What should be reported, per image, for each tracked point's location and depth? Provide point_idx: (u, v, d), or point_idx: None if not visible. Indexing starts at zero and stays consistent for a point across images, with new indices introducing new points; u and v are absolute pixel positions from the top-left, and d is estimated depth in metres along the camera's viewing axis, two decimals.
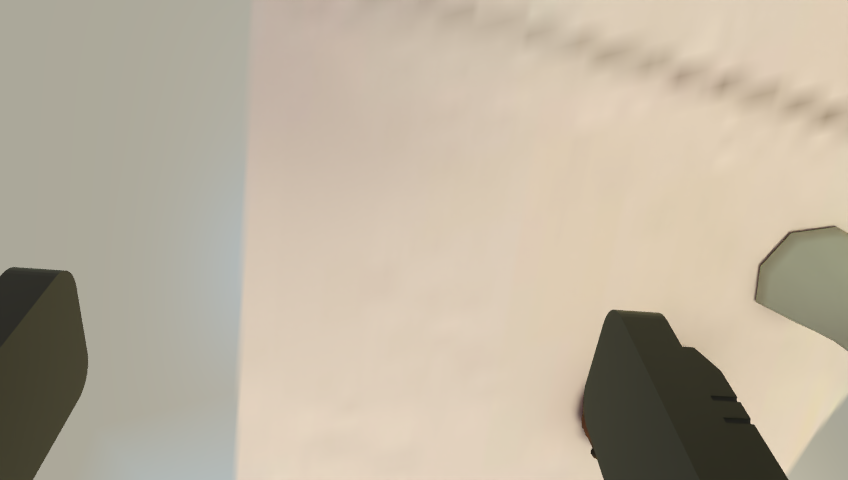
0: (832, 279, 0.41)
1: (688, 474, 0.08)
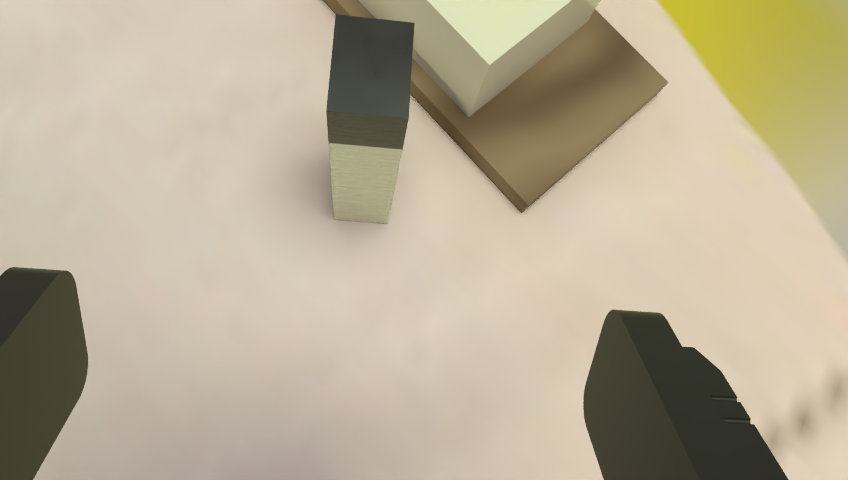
0: None
1: (688, 475, 0.08)
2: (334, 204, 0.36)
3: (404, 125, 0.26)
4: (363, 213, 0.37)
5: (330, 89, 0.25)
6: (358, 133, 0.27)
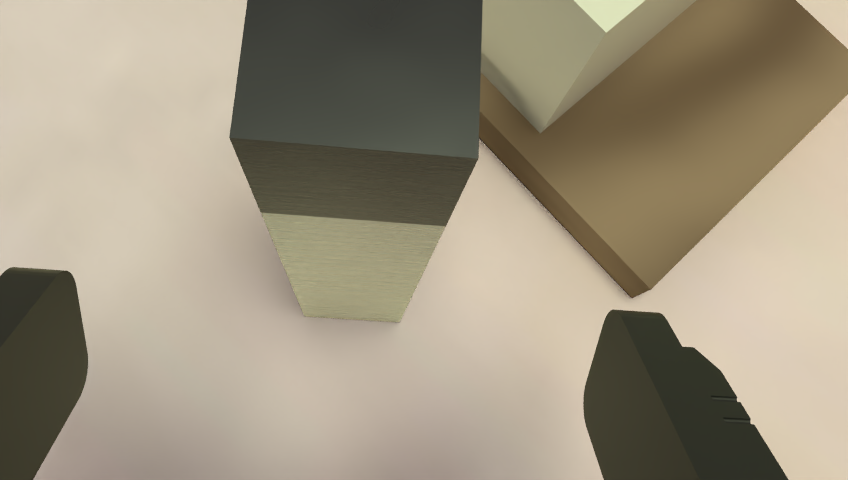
0: None
1: (686, 474, 0.08)
2: (300, 301, 0.19)
3: (462, 175, 0.09)
4: (355, 312, 0.20)
5: (243, 72, 0.08)
6: (335, 193, 0.10)
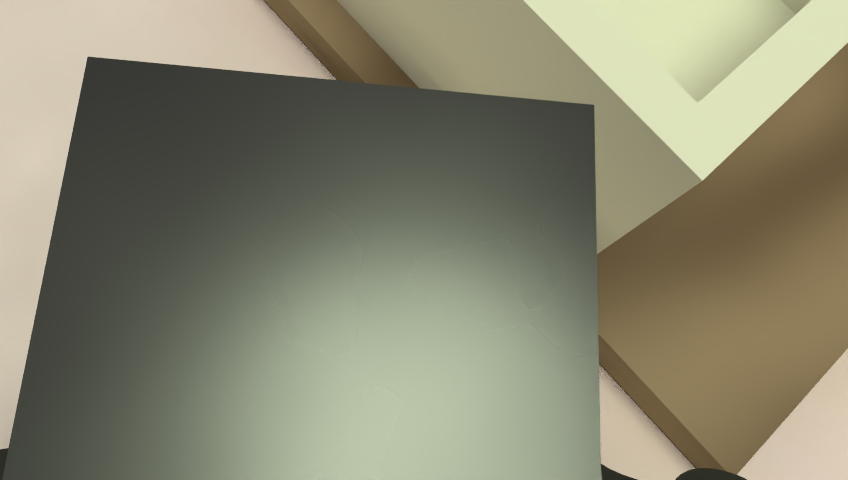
0: None
1: None
2: None
3: None
4: None
5: None
6: None
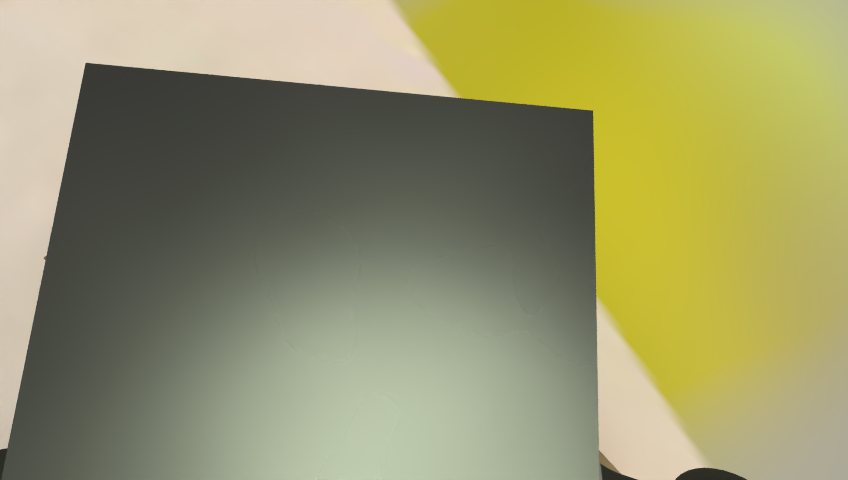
0: None
1: None
2: None
3: None
4: None
5: None
6: None
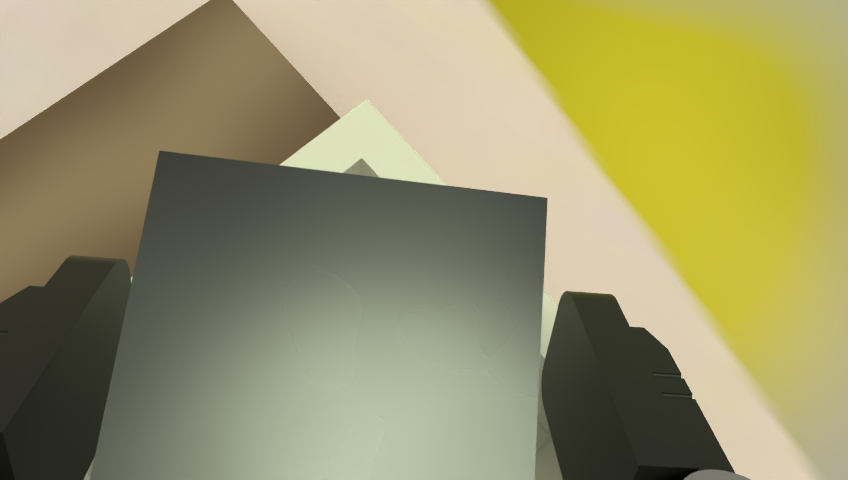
0: None
1: (621, 443, 0.08)
2: None
3: None
4: None
5: None
6: None
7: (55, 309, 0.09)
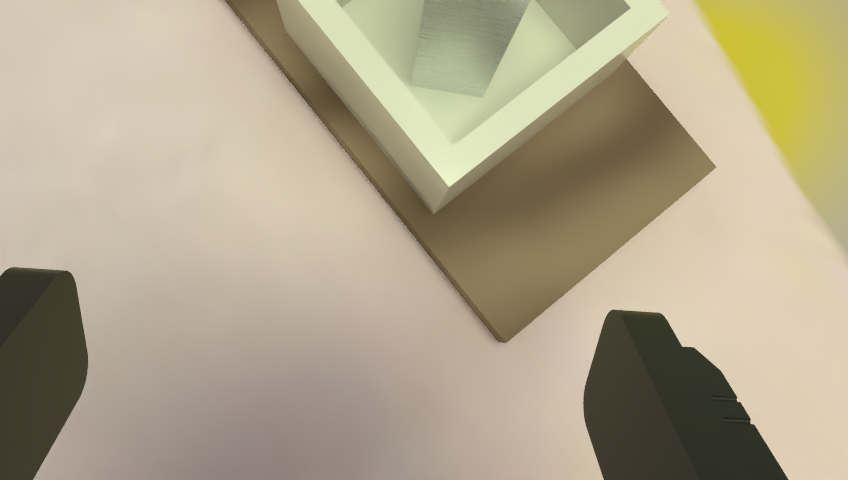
0: None
1: (687, 474, 0.08)
2: (416, 60, 0.25)
3: None
4: (453, 79, 0.27)
5: None
6: None
7: None
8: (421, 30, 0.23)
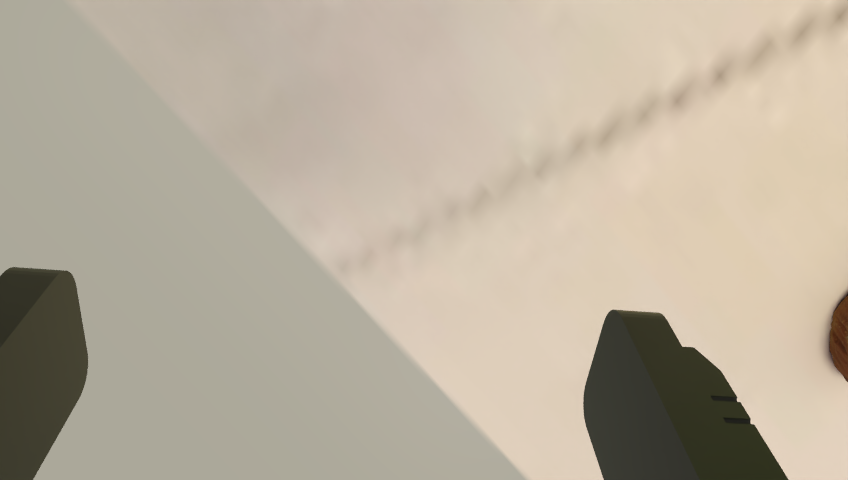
0: None
1: (688, 474, 0.08)
2: None
3: None
4: None
5: None
6: None
7: None
8: None
